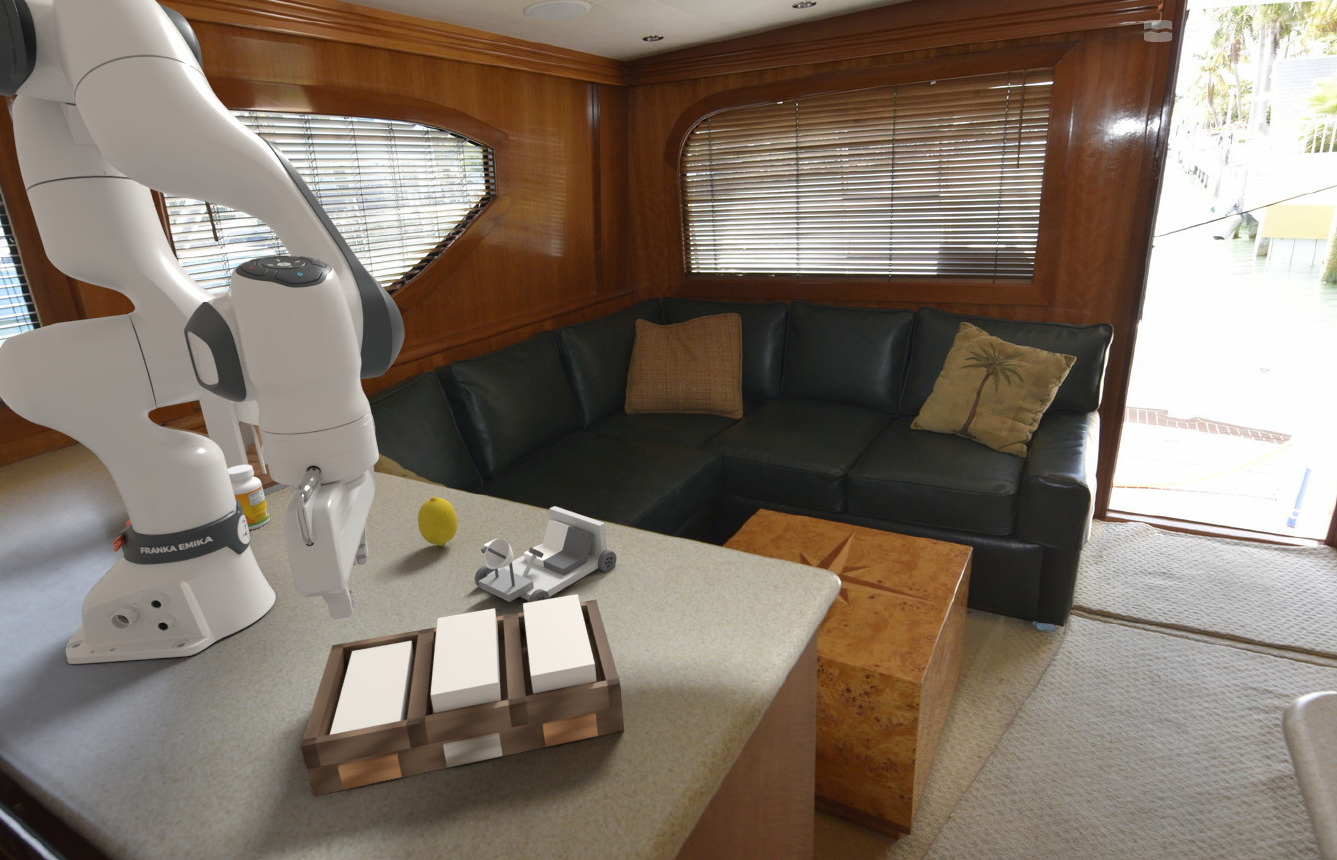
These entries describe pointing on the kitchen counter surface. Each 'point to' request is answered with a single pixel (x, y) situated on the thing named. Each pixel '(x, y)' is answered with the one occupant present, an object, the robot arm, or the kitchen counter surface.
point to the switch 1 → (375, 687)
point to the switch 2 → (466, 661)
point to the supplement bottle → (249, 495)
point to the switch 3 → (558, 644)
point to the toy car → (546, 559)
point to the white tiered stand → (238, 435)
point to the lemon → (437, 521)
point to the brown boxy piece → (459, 713)
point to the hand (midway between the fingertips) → (351, 586)
